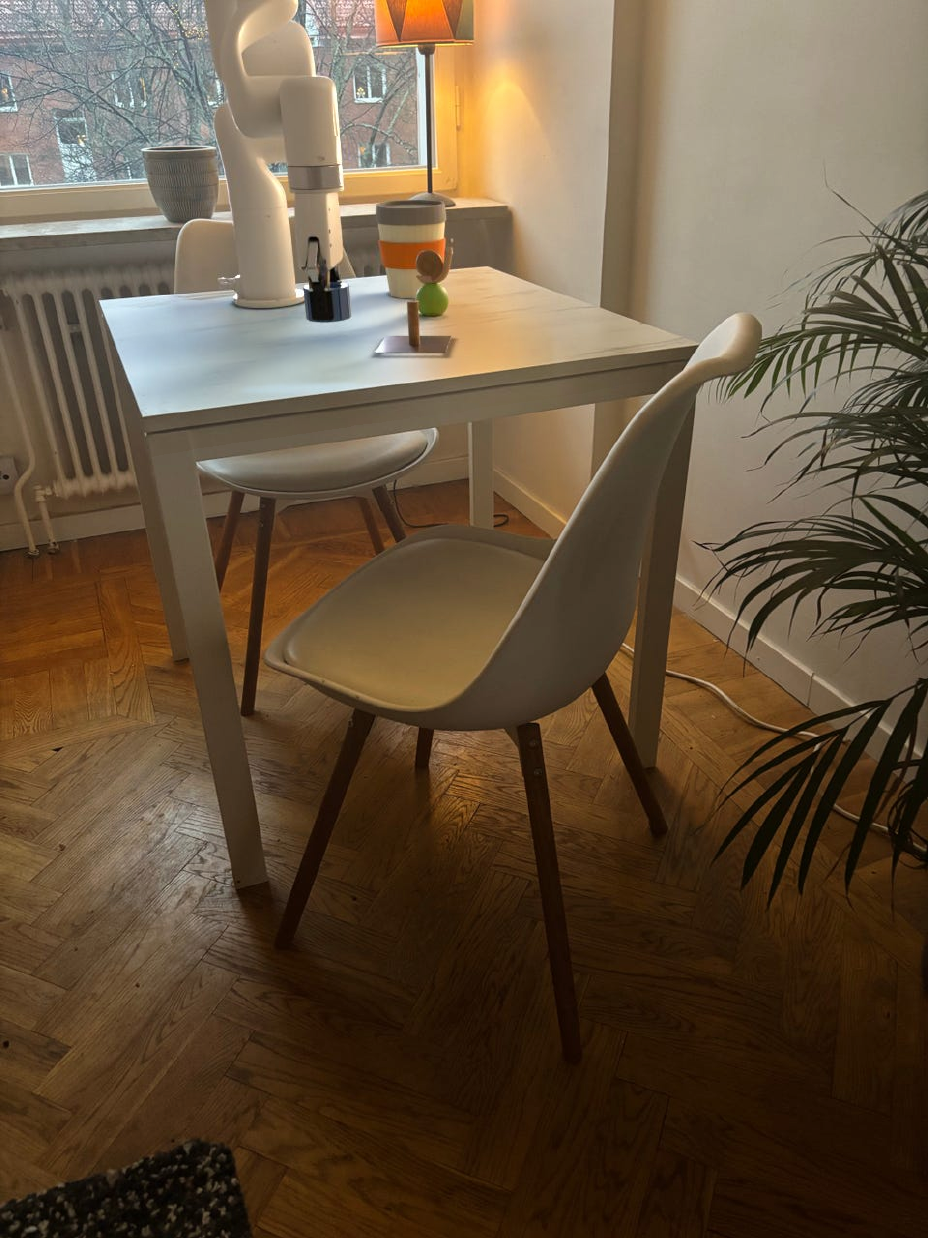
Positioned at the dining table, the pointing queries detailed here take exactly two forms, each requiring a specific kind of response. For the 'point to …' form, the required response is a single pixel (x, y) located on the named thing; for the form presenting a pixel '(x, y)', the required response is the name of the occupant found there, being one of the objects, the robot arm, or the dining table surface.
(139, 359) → the dining table surface
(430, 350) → the dowel stand
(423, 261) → the snail figurine
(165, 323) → the dining table surface
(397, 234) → the reusable coffee cup
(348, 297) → the blue ring
